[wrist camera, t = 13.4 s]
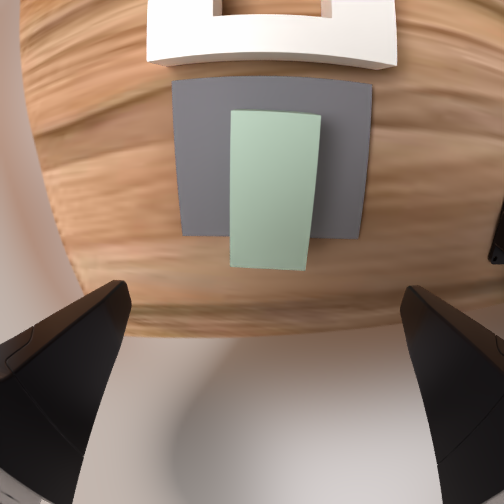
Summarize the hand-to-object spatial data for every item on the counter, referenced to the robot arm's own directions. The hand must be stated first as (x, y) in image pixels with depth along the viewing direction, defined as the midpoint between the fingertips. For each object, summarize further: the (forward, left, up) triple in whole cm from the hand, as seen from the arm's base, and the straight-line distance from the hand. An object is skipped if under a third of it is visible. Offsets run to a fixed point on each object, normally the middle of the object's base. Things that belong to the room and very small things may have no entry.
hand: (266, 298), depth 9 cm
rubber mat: (0, -2, -10) cm, 10 cm away
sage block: (0, -1, -10) cm, 10 cm away
